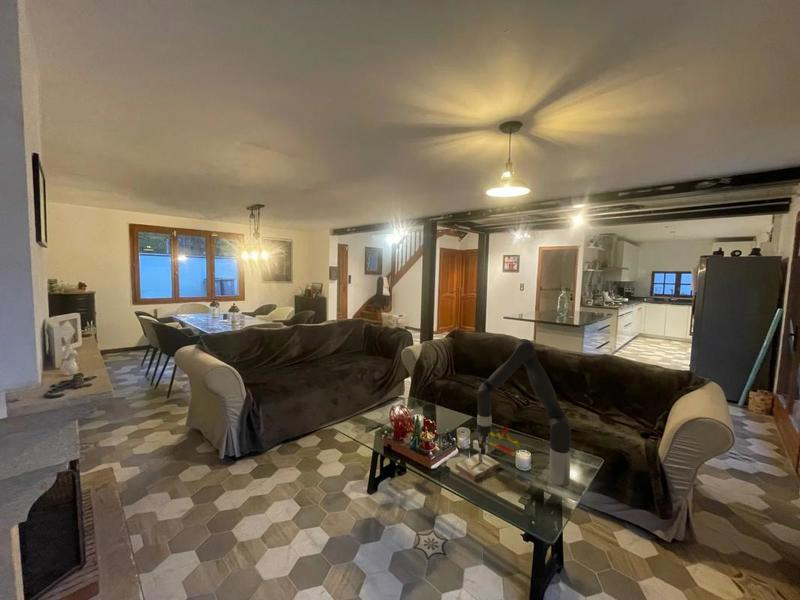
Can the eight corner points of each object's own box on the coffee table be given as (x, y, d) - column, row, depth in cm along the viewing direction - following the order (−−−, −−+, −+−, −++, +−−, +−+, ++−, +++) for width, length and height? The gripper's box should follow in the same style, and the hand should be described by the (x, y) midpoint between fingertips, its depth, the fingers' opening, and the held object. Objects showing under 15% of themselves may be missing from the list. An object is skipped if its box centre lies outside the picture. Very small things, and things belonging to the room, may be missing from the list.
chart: (478, 440, 219) (478, 418, 217) (481, 439, 221) (481, 416, 219) (522, 461, 196) (523, 436, 194) (525, 459, 198) (526, 434, 196)
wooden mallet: (475, 457, 195) (475, 439, 194) (487, 463, 189) (487, 445, 188) (464, 465, 188) (464, 446, 187) (476, 471, 183) (476, 452, 181)
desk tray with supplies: (480, 455, 202) (480, 451, 202) (501, 467, 190) (501, 463, 190) (455, 468, 191) (455, 463, 191) (474, 481, 179) (474, 476, 179)
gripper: (481, 415, 195) (481, 445, 197) (473, 426, 183) (472, 457, 185) (495, 418, 191) (494, 448, 193) (487, 429, 179) (486, 461, 181)
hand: (484, 452), depth 189 cm, fingers closed on wooden mallet, 2 cm apart
